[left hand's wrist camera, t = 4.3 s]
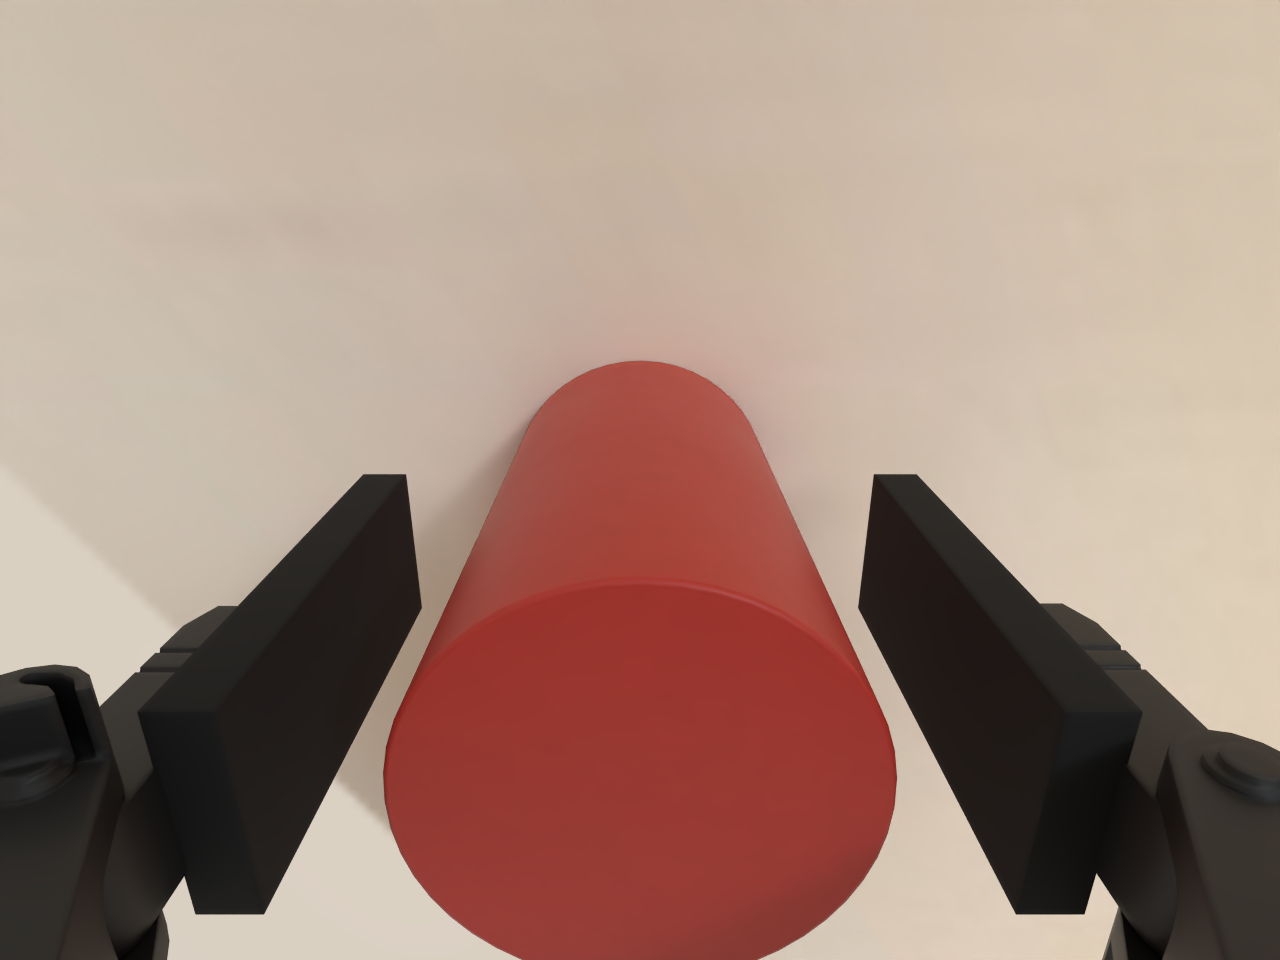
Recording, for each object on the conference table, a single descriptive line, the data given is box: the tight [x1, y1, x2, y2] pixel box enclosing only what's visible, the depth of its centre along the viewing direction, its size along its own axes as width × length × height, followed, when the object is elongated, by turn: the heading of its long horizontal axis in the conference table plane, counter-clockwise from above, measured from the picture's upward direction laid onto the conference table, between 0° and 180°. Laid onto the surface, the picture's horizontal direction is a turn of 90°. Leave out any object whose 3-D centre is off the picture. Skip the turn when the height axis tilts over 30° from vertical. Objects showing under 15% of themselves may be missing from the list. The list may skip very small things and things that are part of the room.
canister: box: [383, 361, 897, 960], centre depth 12 cm, size 5×5×9 cm
